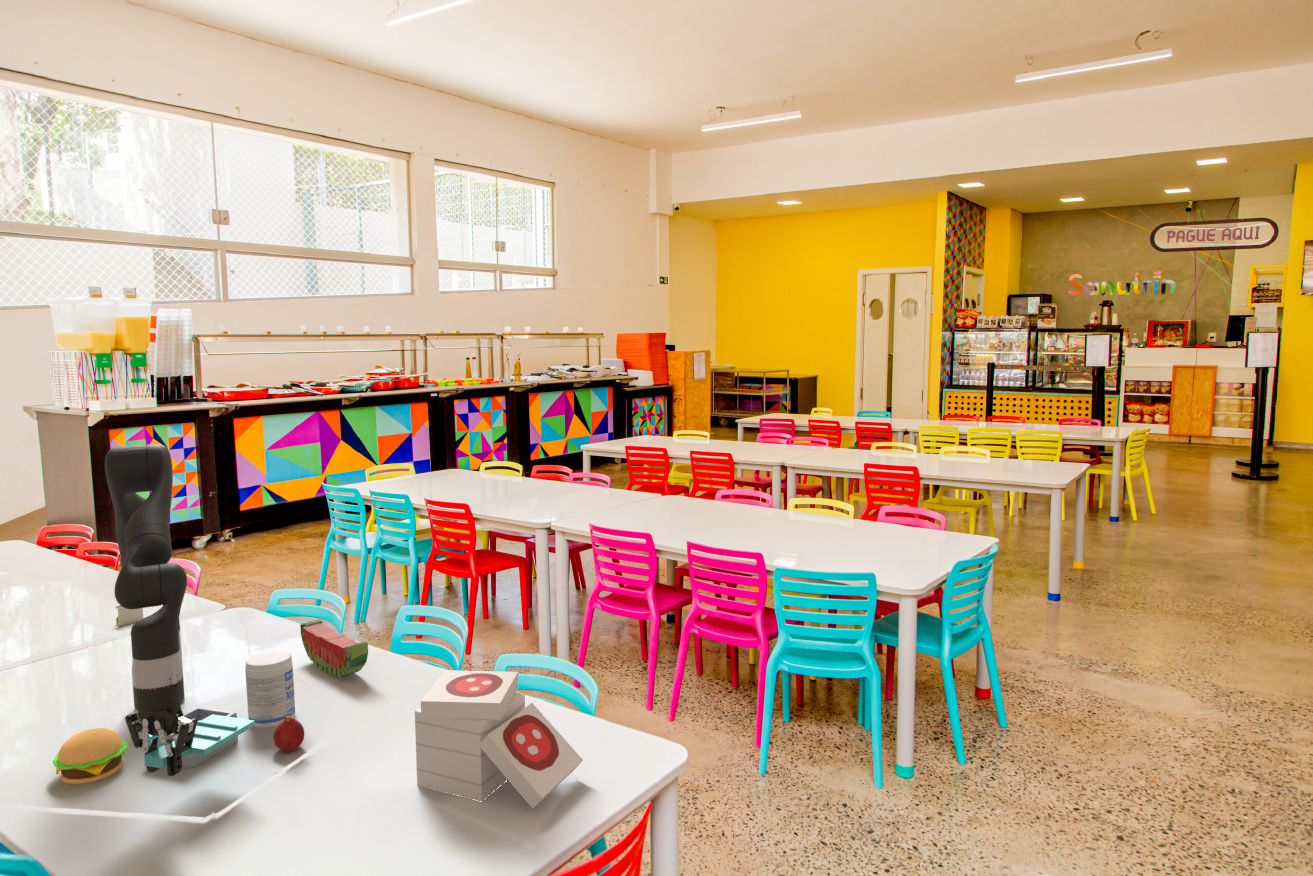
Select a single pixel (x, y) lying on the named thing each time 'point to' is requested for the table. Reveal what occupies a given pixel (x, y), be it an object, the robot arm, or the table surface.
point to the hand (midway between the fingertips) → (164, 771)
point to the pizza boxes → (487, 739)
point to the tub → (200, 714)
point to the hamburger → (90, 756)
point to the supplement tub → (270, 688)
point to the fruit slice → (333, 649)
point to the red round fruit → (289, 734)
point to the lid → (204, 738)
